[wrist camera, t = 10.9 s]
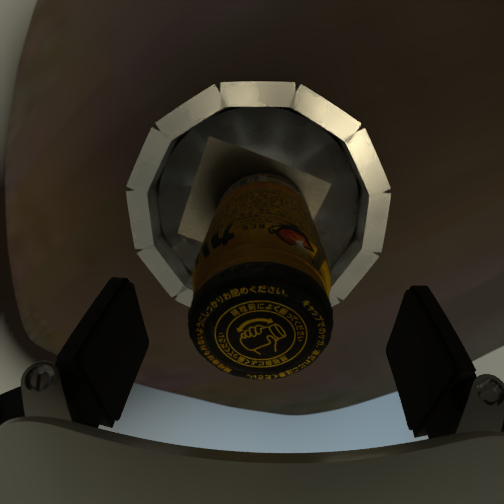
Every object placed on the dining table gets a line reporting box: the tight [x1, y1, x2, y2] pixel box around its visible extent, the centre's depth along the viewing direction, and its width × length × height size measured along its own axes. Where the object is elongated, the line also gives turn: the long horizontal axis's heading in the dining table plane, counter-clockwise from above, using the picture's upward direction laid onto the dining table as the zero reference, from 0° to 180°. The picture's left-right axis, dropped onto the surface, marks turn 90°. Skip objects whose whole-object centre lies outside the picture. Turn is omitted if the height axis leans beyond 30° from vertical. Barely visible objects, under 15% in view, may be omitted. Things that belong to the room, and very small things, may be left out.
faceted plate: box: [126, 81, 391, 307], centre depth 20 cm, size 17×17×2 cm
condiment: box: [178, 136, 333, 379], centre depth 16 cm, size 7×8×12 cm
